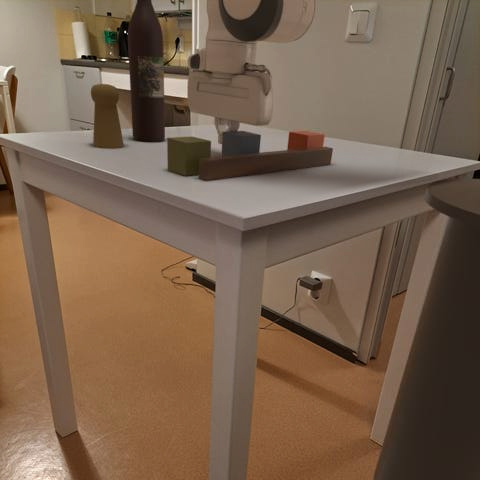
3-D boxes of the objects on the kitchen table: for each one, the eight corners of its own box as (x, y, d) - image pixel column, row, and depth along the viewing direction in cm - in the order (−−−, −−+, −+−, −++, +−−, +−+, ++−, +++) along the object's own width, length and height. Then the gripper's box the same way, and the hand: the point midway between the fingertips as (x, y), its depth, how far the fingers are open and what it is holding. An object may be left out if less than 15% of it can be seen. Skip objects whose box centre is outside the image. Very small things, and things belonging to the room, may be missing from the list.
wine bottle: (138, 142, 97) (130, -33, 83) (129, 137, 103) (120, -28, 88) (169, 141, 100) (167, -27, 86) (159, 137, 106) (155, -23, 91)
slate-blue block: (258, 163, 85) (261, 134, 83) (238, 165, 82) (240, 135, 80) (240, 158, 88) (242, 130, 86) (221, 160, 85) (222, 131, 83)
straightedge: (330, 164, 89) (333, 148, 87) (206, 180, 70) (206, 160, 68) (322, 162, 90) (325, 146, 89) (198, 178, 71) (198, 158, 70)
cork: (116, 149, 89) (112, 86, 83) (87, 146, 90) (81, 83, 84) (128, 144, 94) (125, 85, 89) (101, 142, 95) (96, 82, 89)
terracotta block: (321, 160, 92) (325, 134, 89) (304, 162, 89) (308, 135, 86) (302, 156, 95) (305, 130, 92) (286, 158, 92) (289, 131, 89)
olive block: (210, 173, 75) (211, 140, 72) (185, 176, 72) (185, 142, 69) (191, 167, 78) (192, 136, 76) (167, 170, 75) (167, 137, 73)
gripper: (285, 66, 76) (276, 153, 82) (208, 59, 88) (206, 135, 95) (258, 64, 72) (251, 155, 79) (181, 57, 84) (181, 137, 91)
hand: (225, 144), depth 87 cm, fingers closed
